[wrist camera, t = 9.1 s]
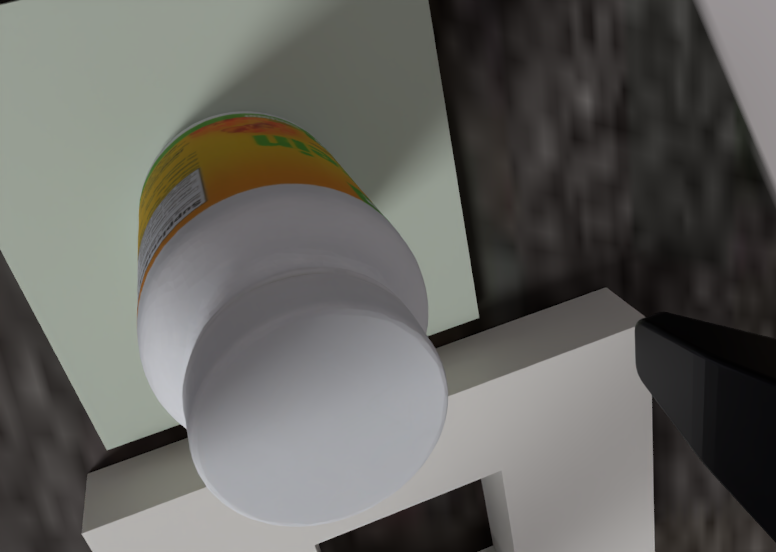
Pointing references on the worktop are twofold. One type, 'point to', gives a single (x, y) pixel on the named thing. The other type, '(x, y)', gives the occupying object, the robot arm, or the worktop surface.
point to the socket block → (456, 451)
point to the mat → (176, 113)
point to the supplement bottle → (283, 323)
